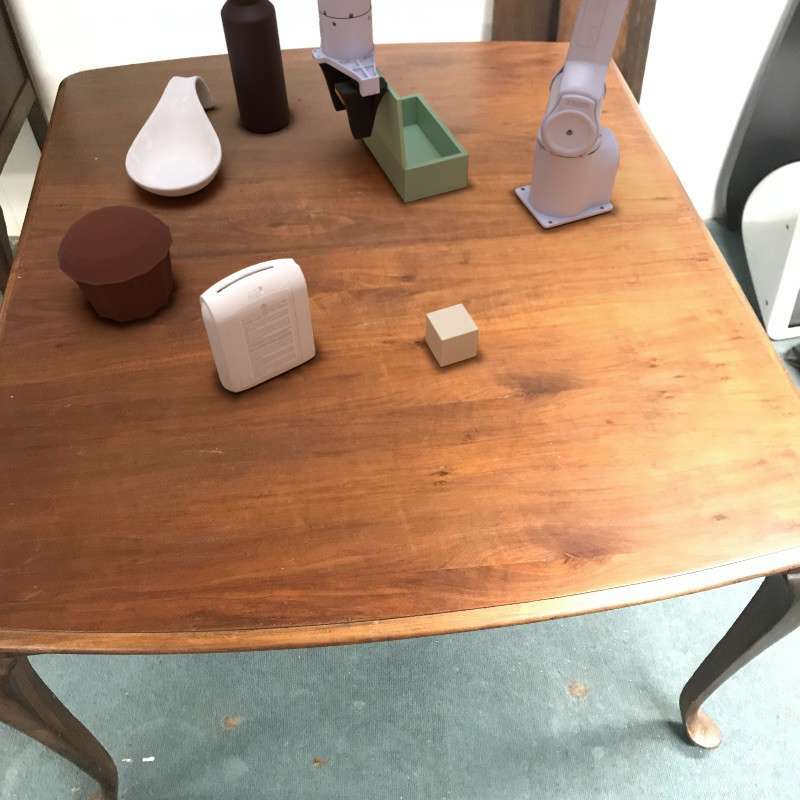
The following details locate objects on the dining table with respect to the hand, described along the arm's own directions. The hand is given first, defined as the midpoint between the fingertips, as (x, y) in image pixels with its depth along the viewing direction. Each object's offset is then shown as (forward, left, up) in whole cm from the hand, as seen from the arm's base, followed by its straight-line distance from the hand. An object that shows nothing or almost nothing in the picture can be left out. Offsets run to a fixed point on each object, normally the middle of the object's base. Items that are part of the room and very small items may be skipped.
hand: (352, 122), depth 93 cm
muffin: (+30, +11, -8) cm, 33 cm away
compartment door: (-4, 0, +2) cm, 4 cm away
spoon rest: (+19, -13, -8) cm, 24 cm away
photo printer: (+19, +27, -8) cm, 34 cm away
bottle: (+7, -17, -8) cm, 20 cm away
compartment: (-8, 0, -8) cm, 11 cm away
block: (+1, +32, -8) cm, 33 cm away
